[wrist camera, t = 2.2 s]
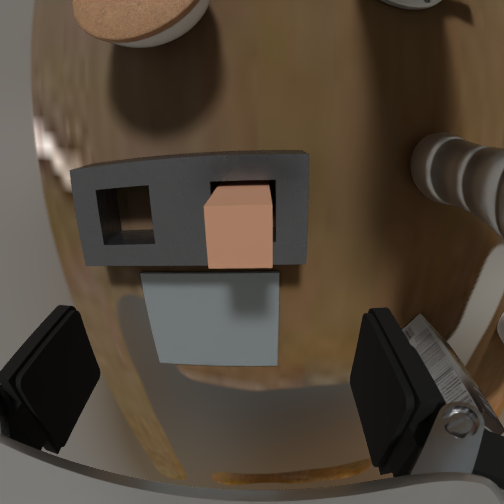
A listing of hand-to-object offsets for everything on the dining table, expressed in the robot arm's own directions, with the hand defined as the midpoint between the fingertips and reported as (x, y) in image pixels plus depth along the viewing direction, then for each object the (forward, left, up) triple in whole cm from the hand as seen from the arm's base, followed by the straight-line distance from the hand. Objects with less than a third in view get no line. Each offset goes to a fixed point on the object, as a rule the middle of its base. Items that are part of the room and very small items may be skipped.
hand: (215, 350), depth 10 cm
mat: (+4, +13, -20) cm, 24 cm away
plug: (0, 0, -20) cm, 20 cm away
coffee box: (-21, +18, -20) cm, 34 cm away
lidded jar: (+7, -19, -21) cm, 29 cm away
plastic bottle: (-18, -4, -20) cm, 28 cm away
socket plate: (+5, 0, -20) cm, 21 cm away
